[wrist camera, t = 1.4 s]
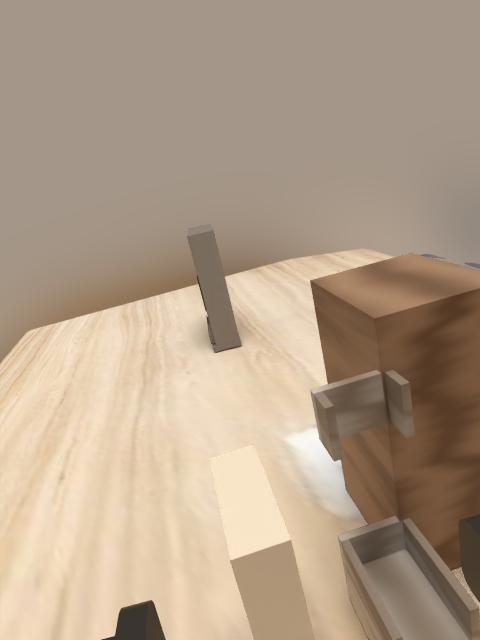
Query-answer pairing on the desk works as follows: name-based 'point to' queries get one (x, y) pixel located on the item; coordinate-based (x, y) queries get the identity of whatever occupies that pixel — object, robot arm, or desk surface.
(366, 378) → the cabinet
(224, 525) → the beige rectangular block
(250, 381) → the desk surface
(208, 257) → the cassette tape recorder
